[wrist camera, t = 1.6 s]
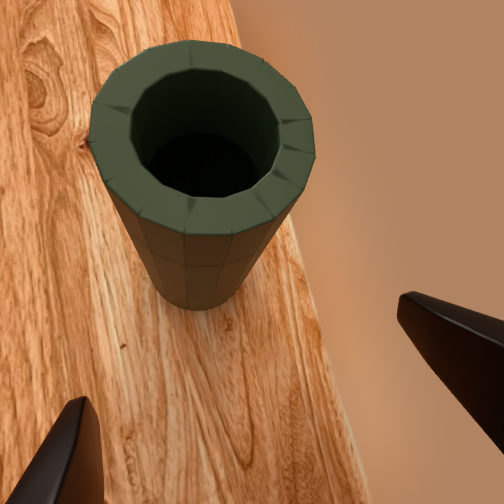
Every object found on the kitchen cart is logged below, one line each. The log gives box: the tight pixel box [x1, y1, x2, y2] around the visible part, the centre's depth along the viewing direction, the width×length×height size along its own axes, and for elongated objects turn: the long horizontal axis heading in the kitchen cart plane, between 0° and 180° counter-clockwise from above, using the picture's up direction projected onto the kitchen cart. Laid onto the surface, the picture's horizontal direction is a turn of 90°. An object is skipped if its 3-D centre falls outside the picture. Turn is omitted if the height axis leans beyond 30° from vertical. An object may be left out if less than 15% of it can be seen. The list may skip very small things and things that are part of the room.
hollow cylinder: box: [88, 40, 316, 311], centre depth 16 cm, size 6×6×14 cm
